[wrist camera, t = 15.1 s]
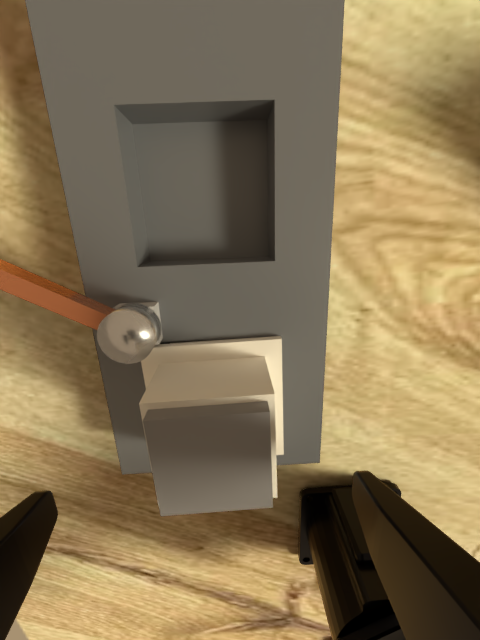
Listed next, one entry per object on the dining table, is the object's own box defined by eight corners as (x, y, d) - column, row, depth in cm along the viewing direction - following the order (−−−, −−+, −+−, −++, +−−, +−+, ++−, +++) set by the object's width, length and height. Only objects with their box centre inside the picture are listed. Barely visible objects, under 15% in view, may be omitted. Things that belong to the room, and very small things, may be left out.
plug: (276, 422, 17) (300, 526, 11) (169, 430, 16) (137, 538, 11) (273, 321, 15) (301, 381, 9) (153, 329, 15) (104, 395, 9)
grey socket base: (305, 424, 18) (324, 474, 14) (139, 434, 18) (116, 487, 14) (321, -65, 11) (364, -203, 8) (54, -59, 11) (-31, -198, 7)
